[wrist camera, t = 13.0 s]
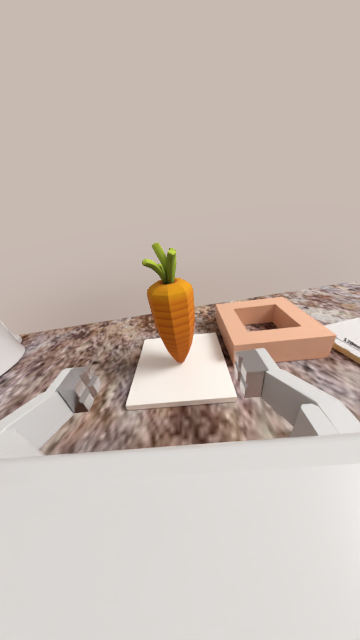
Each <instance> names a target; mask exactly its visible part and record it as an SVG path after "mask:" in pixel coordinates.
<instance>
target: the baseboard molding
mask: <svg viewBox="0 0 360 640" xmlns="http://www.w3.org/2000/svg"><path fill="white" fill-rule="evenodd" d="M325 327H326V328H328V329H329V330H330V331H332V332H333V333H335V334H336V335H337V337H336V339H335V342H334V344H333V346H332V347H333V348H334V349H336V350H337V351H339V352H341V353H342V354H344V355H346V356H347V357H349V358H350V359H352V360H354V361H355V362H357V363H358V364H360V317H359V318H355V319H351V320H347V321H342V322H338V323H334V324H330V325H325Z"/></svg>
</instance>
